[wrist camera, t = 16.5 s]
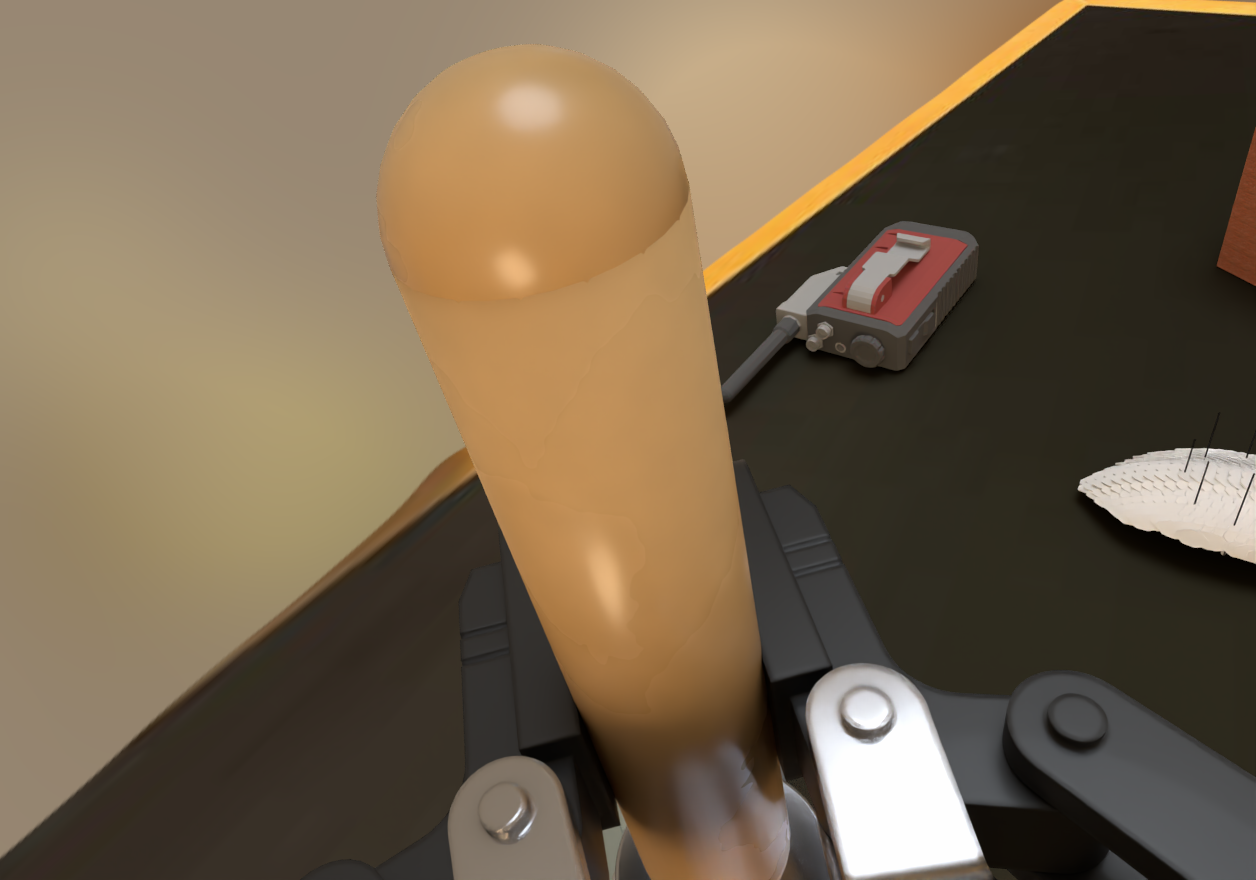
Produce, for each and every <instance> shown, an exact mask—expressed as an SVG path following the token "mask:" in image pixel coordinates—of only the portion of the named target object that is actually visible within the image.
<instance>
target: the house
mask: <svg viewBox="0 0 1256 880" xmlns="http://www.w3.org/2000/svg"><path fill="white" fill-rule="evenodd" d="M1217 266H1218V267H1220V268H1222V269H1223V270H1225V271H1227V272H1229V273H1231V274H1233V275H1235V276H1237V277H1239V278H1241V279H1243V280H1245V281H1247V282H1249V283H1251V284H1253V285H1254V286H1256V128H1255V131H1254V135H1253V138H1252V142H1251V145H1250V149H1249V153H1248V156H1247V160H1246V163H1245V167H1244V170H1243V174H1242V177H1241V181H1240V184H1239V188H1238V192H1237V195H1236V199H1235V202H1234V206H1233V209H1232V213H1231V216H1230V220H1229V224H1228V227H1227V231H1226V234H1225V238H1224V241H1223V245H1222V248H1221V252H1220V255H1219V259H1218V263H1217Z"/></svg>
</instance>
